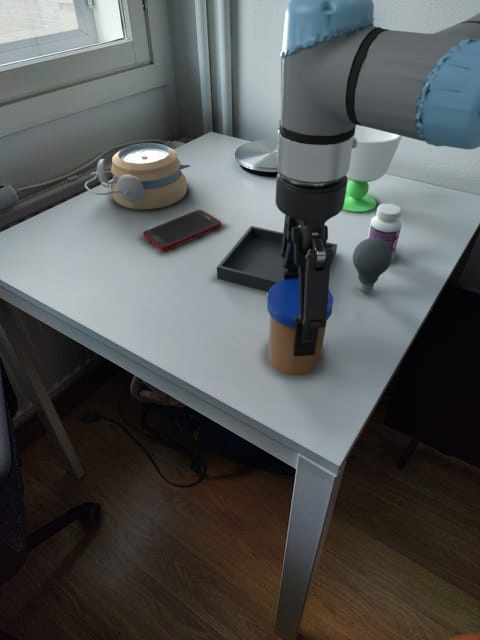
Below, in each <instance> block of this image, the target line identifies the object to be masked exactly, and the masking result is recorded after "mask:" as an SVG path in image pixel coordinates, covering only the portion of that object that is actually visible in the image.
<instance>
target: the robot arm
mask: <svg viewBox="0 0 480 640" xmlns="http://www.w3.org/2000/svg"><path fill="white" fill-rule="evenodd" d="M374 10H375V4H374V2H373V0H290V2H289V3H288V5H287V7H286V10H285V15H284V16H285V17H284V25H283V26H284V28H283V37H282V47H281V48H282V50H281V51H280V55H279V58H280V113H279V114H280V115H279V116H280V117H279V121H278V123H279V124H278V125H279V126H278V129H277V143H276V145H277V147H276V148H277V149H276V170H277V171H278V172H277V174H276V179H275V180H276V181H275V205H276V208H277V209H278V210H279V212H281V213H282V214H284V222H283V230H282V231H283V232H282V233H283V240H282V249H281V256H282V258H284V261H283V267H284V269H286V271H283V280H286V279H291V278H299V315H297V316H296V317H293V320H294V323H296V327H295V337H294V348H293V354H294V357H295V356H307V355H315V349H316V341H317V334H318V328H321V327H326V328H327V323H328V321H327V322H326V319H327V305H328V292H329V291H330V288H329V287H330V278H331V267H332V264H333V262H332V259H333V251H332V248H326V242H328V239H329V228H328V225H327V224H326V223H327V222H328V221H330V219H331V218H334V217H336V216H337V215H338V214H340V213H341V212H342V211H343V210H344V209H343V207H344V201H345V195H346V193H347V186H348V183H349V182H348V179H347V176H346V174H347V173H348V171H349V165H350V159H351V151H352V148H355V147H356V146H357V143H358V142H357V140H356V139H355V138H354V134H355V128H356V125H360V126H365V127H369V128H373V129H377V130H381V131H385V132H388V133H392V134H396V135H400V136H402V137H405V138H409V139H411V140H412V139H413V140H417V141H420V142H425V143H426V144H427V145H429V146H434V147H448V148H456V149H461V150H474V149H475V150H476V149H478V148H480V12H479V13H476V14H474V15H473V16H472V17H469V18H467V19H466V20H463V21H462V22H459V23H456V24H454V25H451V26H449V27H447V28H443V29H441V30H439V31H437V32H434V33H425V32H424V33H423V32H413V31H405V30H404V31H403V30H393V29H389V28H388V29H387V28H382V27H381V26H374V25H375V24H374V21H375V18H374V13H375V11H374ZM305 257H306V258H305ZM331 263H332V264H331ZM298 268H299V270H298Z"/></svg>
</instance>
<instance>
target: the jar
mask: <svg viewBox="0 0 480 640" xmlns="http://www.w3.org/2000/svg"><path fill="white" fill-rule="evenodd" d="M326 322H327V323H328V320H327V321H326ZM326 328H327V326H326V327H321V328H318V334H317V341H316V349H315V355H307V356H295V357H294V354H293V348H294V337H295V328H291V327H287V326H284V325H282V324H280V323H278V322H277V321H275V320H274V319H273V318H272V317H271V316H270V315H269V329H268V330H269V331H268V332H269V334H268V360H269V362H270V364H271V365H272V366H273V367H274V368H275V369H276V370H278V371H279V372H280V373H283V374H286V375H290V376H305V375H307V374H310V373H311V372H314V371H315V370H316V369H317V368H318V367H319V366H320V363H321V361H322V355H323V348H324V341H325V335H326V330H327V329H326Z"/></svg>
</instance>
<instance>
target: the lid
mask: <svg viewBox="0 0 480 640" xmlns="http://www.w3.org/2000/svg"><path fill="white" fill-rule="evenodd" d="M266 297H267V298H266V309H267V312H268V314H269V317H270V316H271V317H272V318H273V319H274V320H275V321H277V322H278V323H280V324H282V325H284V326H287V327H291V328H295V327H296V323H294V320H293V317H296V316H297V315H299V278H291V279H286V280H282V281H280V282H278V283H276V284H275V285H273V286H272V287H271V289H270V290H269V292H267V296H266ZM333 305H334V297H333V294H332V292H331V291H330V290H329V292H328V305H327V319H326V321H327V322H328V320H329V319H330V317H331V316H332V313H333Z"/></svg>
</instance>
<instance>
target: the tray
mask: <svg viewBox="0 0 480 640" xmlns="http://www.w3.org/2000/svg"><path fill="white" fill-rule="evenodd" d="M282 240H283V232H281V231H276V230H273V229H267V228H263V227H259V226H253V225H251V226H249V228H248V229H247V230H246V231H245V232H244V234H243V235H242V236H241V237H240V238H239V240H238V241H237V242H236V243H235V244H234V245H233V247H232V248H231V249H230V250H229V252H228V253H227V254H226V255H225V257H224V258H223V259H222V260H221V261H220V263H218V265H217V266H216V279H217V280H219V281H223V282H227V283H230V284H235V285H238V286H243V287H247V288H250V289H254V290H258V291H261V292H266V293H268V292H269V290H270V289H271V287H272V286H273V285H275V284H276V283H278V282H280V281H282V280H283V271H286V269H284V267H283V261H284V258H282V256H281V249H282ZM326 248H332V251H333V259H332V263H331V265H332V264H333V262H334V260H335V258H336V256H337V250H338V249H337V248H338V243H332V242H328V241H326ZM305 258H306V257H305ZM298 270H299V268H298Z"/></svg>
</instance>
